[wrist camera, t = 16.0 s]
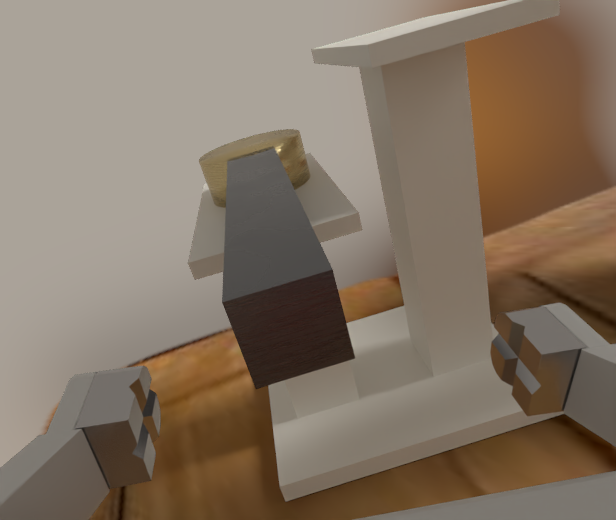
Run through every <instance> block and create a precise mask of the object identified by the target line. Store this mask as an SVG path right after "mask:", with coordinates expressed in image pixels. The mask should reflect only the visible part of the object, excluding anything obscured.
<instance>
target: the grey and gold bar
mask: <svg viewBox="0 0 616 520" xmlns="http://www.w3.org/2000/svg"><path fill="white" fill-rule="evenodd" d="M199 163H200V165H201V168H202V171H203V174H204V176H205V179H206V182H207V185H208V188H209V191H210V193H211V196H212V199H213V202H214V204H215V205H216V206H218V207H223V208H226V214H225V242H224V270H223V297H222V303H223V305H224V308H225V310H226V313H227V316H228V318H229V321H230V323H231V326H232V329H233V331H234V334H235V336H236V339H237V341H238V344H239V346H240V349H241V352H242V354H243V357H244V359H245V362H246V364H247V367H248V370H249V372H250V375H251V377H252V380H253V382H254V385H255V388H256V389H258V388H261V387H264V386H267V385H271V384H274V383H277V382H280V381H284V380H287V379H290V378H293V377H297V376H300V375H303V374H306V373H310V372H313V371H316V370H320V369H323V368H326V367H329V366H333V365H336V364H339V363H342V362H346V361H349V360H352V359H355V355H354V351H353V347H352V344H351V340H350V336H349V332H348V328H347V324H346V320H345V316H344V313H343V309H342V305H341V301H340V297H339V293H338V289H337V286H336V282H335V278H334V274H333V270H332V268H331V266H330V263H329V262H328V259H327V257H326V255H325V253H324V251H323V249H322V247H321V244H320V242H319V240H318V238H317V236H316V234H315V232H314V230H313V228H312V225H311V223H310V221H309V219H308V217H307V215H306V213H305V211H304V209H303V206H302V204H301V202H300V200H299V198H298V196H297V194H296V192H295V190H296V189H297V188H299V187H301V186H302V185H304V184H305V183H306V182H307V181H308V180H309V178H310V171H309V167H308V163H307V159H306V155H305V151H304V148H303V144H302V140H301V136H300V132H299V131H298V130H294V129H287V130H278V131H272V132H267V133H262V134H258V135H255V136H251V137H247V138H243V139H241V140H237V141H234V142H231V143H229V144H226V145H224V146H221V147H218V148H216V149H214V150H212V151H210V152H208V153H206V154H205V155H204V156H202V157H201V158H200V159H199Z"/></svg>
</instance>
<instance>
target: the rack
mask: <svg viewBox="0 0 616 520" xmlns="http://www.w3.org/2000/svg"><path fill="white" fill-rule="evenodd" d="M559 14H560V12H559V0H508V1H504V2H499V3H494V4H489V5H484V6H479V7H474V8H469V9H464V10H459V11H454V12H449V13H444V14H439V15H434V16H429V17H424V18H420V19H417V20H414V21H410V22H406V23H403V24H399V25H396V26H392V27H389V28H385V29H382V30H378V31H374V32H371V33H367V34H364V35H360V36H357V37H353V38H350V39H346V40H343V41H339V42H336V43H332V44H328V45H325V46H321V47H318V48H314V49H312V54H313V59H314V63H317V64H329V65H341V66H352V67H359V68H360V74H361V79H362V85H363V90H364V95H365V100H366V106H367V110H368V116H369V121H370V127H371V132H372V137H373V142H374V147H375V153H376V158H377V164H378V169H379V174H380V180H381V185H382V190H383V195H384V201H385V206H386V211H387V216H388V222H389V227H390V233H391V237H392V243H393V249H394V254H395V259H396V264H397V270H398V275H399V280H400V286H401V291H402V296H403V301H404V306H401V307H398V308H395V309H392V310H388V311H385V312H382V313H378V314H375V315H372V316H369V317H365V318H362V319H359V320H355V321H352V322H349V323H346V324H347V328H348V332H349V336H350V340H351V344H352V347H353V351H354V355H355V359H352V360H349V361H346V362H342V363H339V364H336V365H333V366H329V367H326V368H323V369H320V370H316V371H313V372H310V373H306V374H303V375H300V376H297V377H293V378H290V379H287V380H284V381H280V382H277V383H274V384H271V385H268V388H269V397H270V406H271V415H272V424H273V433H274V442H275V451H276V459H277V468H278V477H279V486H280V489H281V492H282V494H283V497H284V499H285V501H289V500H293V499H296V498H299V497H302V496H305V495H308V494H312V493H315V492H318V491H321V490H324V489H327V488H331V487H334V486H337V485H340V484H343V483H346V482H350V481H353V480H356V479H359V478H362V477H365V476H369V475H372V474H375V473H378V472H381V471H384V470H388V469H391V468H394V467H397V466H400V465H403V464H407V463H410V462H413V461H416V460H419V459H422V458H426V457H429V456H432V455H435V454H438V453H441V452H445V451H448V450H451V449H454V448H457V447H460V446H464V445H467V444H470V443H473V442H476V441H479V440H483V439H486V438H489V437H492V436H495V435H498V434H502V433H505V432H508V431H511V430H514V429H517V428H521V427H524V426H527V425H530V424H533V423H536V422H540V421H543V420H546V419H549V418H552V417H555V416H559V415H562V414H564V413H563V412H564V411H562V412H555V413H548V414H541V415H534V416H527V415H526V414H525V413H524V411H523V410H522V408H521V407H520V406H519V404H518V403H517V402H516V400H515V399H514V397H513V396H512V395H511V394H512V388H513V386H511V385H509V384H507V383H505V382H503V381H502V380H501V379H500V378H499V376H498V375H497V373H496V371H495V369H494V367H493V365H492V360H491V354H490V351H491V342H492V341H493V340H494V338H495V337H496V336H497V335H498V334H499V333H498V331H497V330H496V329H495V328H494V325H493V324H492V323H491V316H490V306H489V295H488V285H487V274H486V264H485V253H484V243H483V232H482V222H481V212H480V200H479V190H478V179H477V169H476V158H475V148H474V138H473V126H472V116H471V105H470V95H469V85H468V74H467V63H466V52H465V42H466V41H469V40H473V39H476V38H480V37H483V36H487V35H490V34H493V33H497V32H501V31H504V30H508V29H511V28H515V27H518V26H522V25H525V24H529V23H532V22H536V21H539V20H543V19H546V18H549V17H553V16H557V15H559ZM305 155H306V159H307V163H308V167H309V171H310V178H309V180H308V181H307V182H306V183H305V184H304V185H302V186H301V187H299V188H297V189H296V190H295V192H296V194H297V196H298V198H299V200H300V202H301V204H302V206H303V209H304V211H305V213H306V215H307V217H308V219H309V221H310V223H311V225H312V228H313V230H314V232H315V234H316V236H317V238H318V240H319V242H320V243H321V242H324V241H327V240H331V239H334V238H337V237H341V236H344V235H348V234H351V233H354V232H358V231H361V230H362V226H361V222H360V217H359V213H358V211H357V210H356V209H355V208H354V207H353V205H352V204H351V203H350V201H349V200H348V199H347V198H346V196H345V195H344V194H343V193H342V192H341V190H340V189H339V188H338V187H337V186H336V184H335V183H334V182H333V181H332V179H331V178H330V177H329V176H328V174H327V173H326V172H325V171H324V170H323V168H322V167H321V166H320V165H319V163H318V162H317V161H316V160H315V158H314V157H313V156H312V155H311V154H310V153H309V154H305ZM225 214H226V208H223V207H218V206H216V205H215V204H214V202H213V199H212V196H211V193H210V191H209V188H208V185H207V183H206V184H204V188H203V193H202V198H201V203H200V208H199V212H198V217H197V222H196V227H195V231H194V236H193V241H192V246H191V251H190V255H189V260H188V264H189V267H190V269H191V272H192V274H193V277H194V279H195V280H196V279H200V278H203V277H206V276H210V275H213V274H216V273H220V272H223V270H224V242H225Z"/></svg>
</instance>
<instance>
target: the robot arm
mask: <svg viewBox="0 0 616 520" xmlns="http://www.w3.org/2000/svg"><path fill="white" fill-rule="evenodd" d="M494 328H495V329H496V330H497V331H498V333H499V334H498V335H497V336H496V337H495V338H494V340H493V341H492V342H491V351H490V354H491V360H492V365H493V367H494V369H495V371H496V373H497V375H498V376H499V378H500V379H501V380H502V381H503V382H505V383H507V384H509V385H511V386H513V388H512V394H511V395H512V396H513V397H514V399H515V400H516V402H517V403H518V404H519V406H520V407H521V408H522V410H523V411H524V413H525V414H526V415H527V416H534V415H541V414H548V413H555V412H562V411H564V412H563V413H564V414H565V415H567V416H569V417H570V418H572V419H573V420H575V421H576V422H578V423H580V424H581V425H583V426H584V427H586V428H587V429H589V430H590V431H592V432H594V433H595V434H597V435H598V436H600V437H601V438H603V439H605V440H606V441H608V442H609V443H611V444H612V445H614V446H615V447H616V344H609V343H608V342H607V341H606V340H605V339H604V338H602V337H601V336H600V335H599V334H598V333H597V332H596V331H595V330H593V329H592V328H591V327H590V326H589V325H588V324H587V323H586V322H585V321H583V320H582V319H581V318H580V317H579V316H578V315H577V314H576V313H575V312H573V311H572V310H571V309H570V308H569V307H568V306H567V305H565V304H562V303H554V304H549V305H543V306H539V307H533V308H527V309H521V310H514V311H508V312H501V313H498V315H497V317H496V318H495V324H494ZM150 383H151V376H150V374H149V371H148V368H147V367H145V366H137V367H129V368H121V369H113V370H106V371H99V372H93V373H85V374H77V375H74V376H73V377H72V378H71V379H70V380H69V382H68V385H67V387H66V389H65V392H64V394H63V396H62V398H61V401H60V403H59V405H58V408H57V410H56V412H55V415H54V417H53V419H52V421H51V424H50V426H49V428H48V431H47V433H46V434H45V435H39V436H37V437H36V438H35V439H34V440H33V441H31V443H29V444H28V445H27V446H26V447H24V448H23V449H22V450H21V451H20V452H19V453H18V454H16V455H15V456H14V457H13V458H11V459H10V460H9V461H8V462H7V463H6V464H4V465H3V466H2V467H1V468H0V520H89V519H90V517H91V516H92V515H93V513H94V512H95V511H96V509H97V508H98V507H99V505H100V504H101V503H102V501H103V500H104V499H105V497H106V496H107V495H108V493H109V492H110V490H109V489H112V488H117V487H122V486H127V485H132V484H137V483H142V482H147V481H151V479H152V473H153V467H154V462H155V456H156V452H155V449H154V446H153V442H154V441H155V440H156V439H157V438H158V437H159V432H160V407H159V401H158V398H157V395H156V393H155V392H153V391H152V390H150V389H149V388H150ZM354 520H616V471H612V472H607V473H602V474H596V475H591V476H585V477H580V478H575V479H569V480H564V481H558V482H553V483H548V484H542V485H537V486H532V487H526V488H521V489H515V490H510V491H505V492H499V493H494V494H489V495H483V496H478V497H472V498H467V499H462V500H456V501H451V502H446V503H440V504H435V505H429V506H424V507H418V508H413V509H408V510H402V511H397V512H391V513H386V514H381V515H375V516H370V517H364V518H359V519H354Z"/></svg>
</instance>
